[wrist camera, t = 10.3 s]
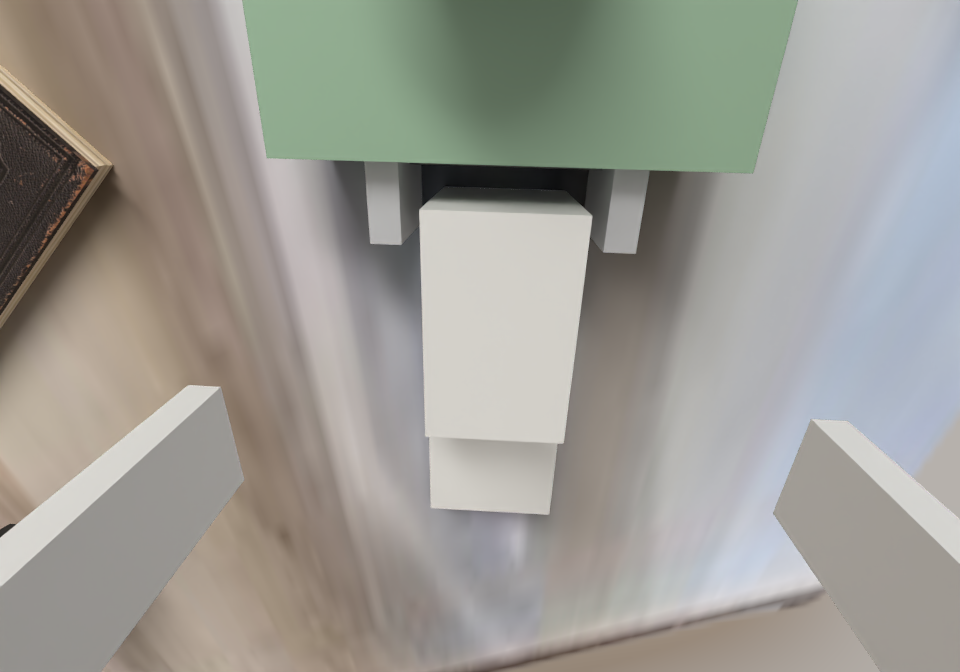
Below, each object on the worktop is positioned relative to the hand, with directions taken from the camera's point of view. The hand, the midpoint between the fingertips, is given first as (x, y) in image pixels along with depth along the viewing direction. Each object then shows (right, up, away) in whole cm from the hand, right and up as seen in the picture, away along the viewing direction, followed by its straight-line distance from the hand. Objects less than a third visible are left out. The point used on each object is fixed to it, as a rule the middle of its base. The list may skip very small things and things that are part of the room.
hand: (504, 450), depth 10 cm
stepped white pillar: (0, +2, +14) cm, 14 cm away
